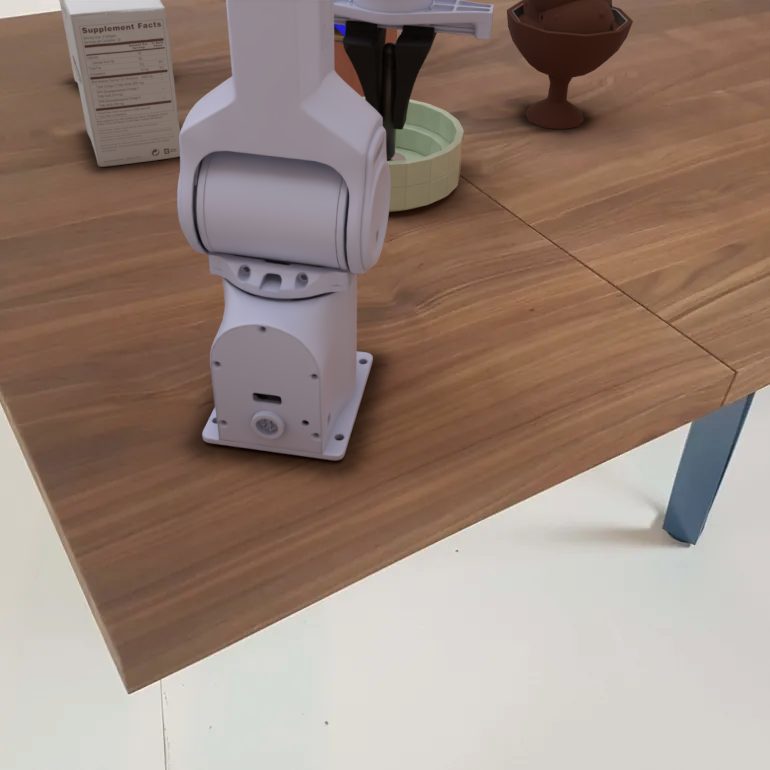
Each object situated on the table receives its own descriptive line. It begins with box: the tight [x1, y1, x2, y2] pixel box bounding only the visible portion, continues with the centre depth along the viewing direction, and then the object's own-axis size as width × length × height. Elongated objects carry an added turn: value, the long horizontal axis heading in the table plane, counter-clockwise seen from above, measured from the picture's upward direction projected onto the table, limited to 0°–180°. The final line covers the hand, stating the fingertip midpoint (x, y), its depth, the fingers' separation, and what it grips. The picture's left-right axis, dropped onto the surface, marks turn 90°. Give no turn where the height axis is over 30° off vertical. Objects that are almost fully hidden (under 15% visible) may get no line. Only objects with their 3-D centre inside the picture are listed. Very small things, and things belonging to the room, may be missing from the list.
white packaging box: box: [62, 0, 181, 168], centre depth 76 cm, size 7×7×13 cm
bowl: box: [363, 96, 465, 213], centre depth 75 cm, size 13×13×4 cm
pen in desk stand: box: [381, 42, 406, 161], centre depth 71 cm, size 3×3×11 cm
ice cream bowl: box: [506, 0, 634, 130], centre depth 83 cm, size 11×11×15 cm
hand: (388, 123), depth 71 cm, fingers closed on pen in desk stand
